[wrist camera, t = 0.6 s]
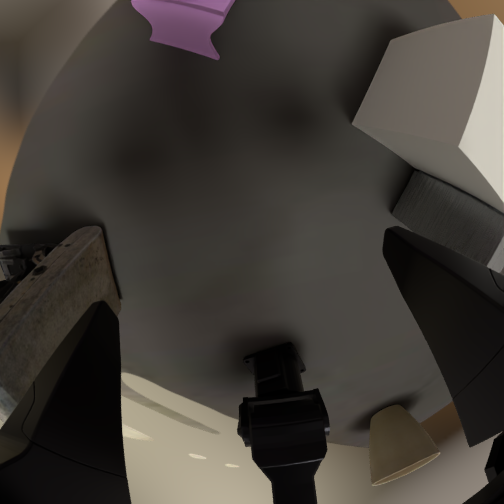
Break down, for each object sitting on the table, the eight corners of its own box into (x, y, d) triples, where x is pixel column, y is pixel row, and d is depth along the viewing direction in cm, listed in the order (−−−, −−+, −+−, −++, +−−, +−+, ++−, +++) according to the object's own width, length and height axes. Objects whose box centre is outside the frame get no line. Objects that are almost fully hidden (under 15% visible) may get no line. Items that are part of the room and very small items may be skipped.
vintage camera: (12, 224, 22) (-93, 329, 5) (108, 220, 23) (-27, 395, 5) (34, 290, 27) (-39, 401, 10) (128, 302, 28) (61, 467, 10)
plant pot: (374, 430, 51) (390, 482, 37) (342, 425, 46) (358, 488, 32) (424, 398, 46) (447, 451, 32) (401, 388, 41) (428, 455, 27)
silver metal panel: (406, 223, 24) (485, 295, 13) (391, 214, 24) (473, 287, 13) (463, 102, 18) (556, 121, 7) (449, 87, 17) (547, 100, 6)
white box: (415, 168, 22) (516, 221, 10) (351, 124, 20) (458, 146, 8) (452, 82, 17) (552, 93, 6) (394, 31, 15) (495, 3, 4)
